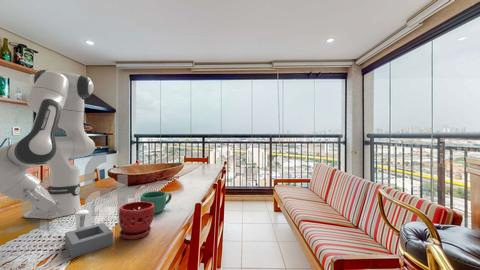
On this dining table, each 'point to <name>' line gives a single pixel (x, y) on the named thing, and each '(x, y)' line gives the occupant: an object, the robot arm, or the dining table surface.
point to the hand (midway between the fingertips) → (59, 208)
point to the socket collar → (88, 239)
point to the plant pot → (135, 219)
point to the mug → (156, 199)
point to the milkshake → (81, 218)
